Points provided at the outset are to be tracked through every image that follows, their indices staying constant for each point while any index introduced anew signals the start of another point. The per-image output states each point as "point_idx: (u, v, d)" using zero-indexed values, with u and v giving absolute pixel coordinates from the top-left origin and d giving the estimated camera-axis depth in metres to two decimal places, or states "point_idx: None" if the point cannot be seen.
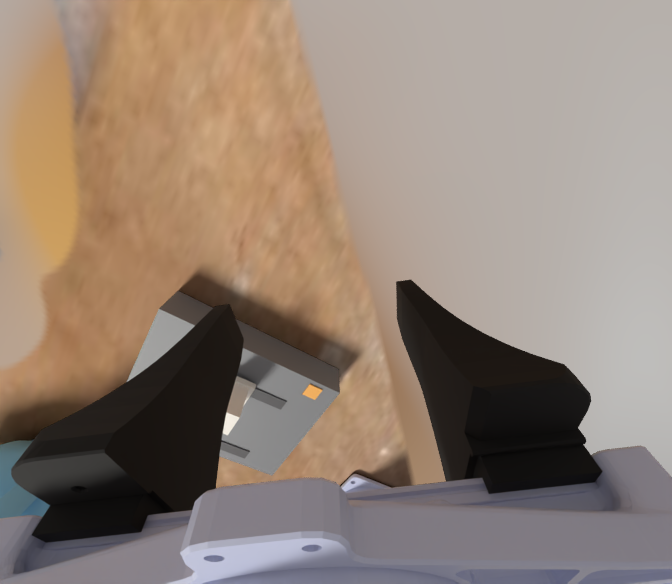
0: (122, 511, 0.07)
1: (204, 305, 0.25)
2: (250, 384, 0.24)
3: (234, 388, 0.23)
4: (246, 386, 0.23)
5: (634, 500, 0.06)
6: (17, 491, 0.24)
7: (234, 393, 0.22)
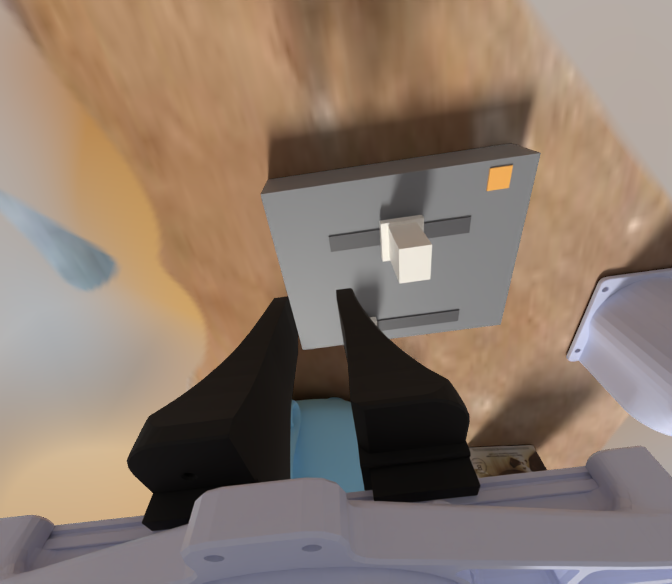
0: None
1: (303, 175, 0.19)
2: (414, 217, 0.17)
3: (400, 229, 0.17)
4: (412, 221, 0.17)
5: (633, 500, 0.06)
6: None
7: (404, 232, 0.16)
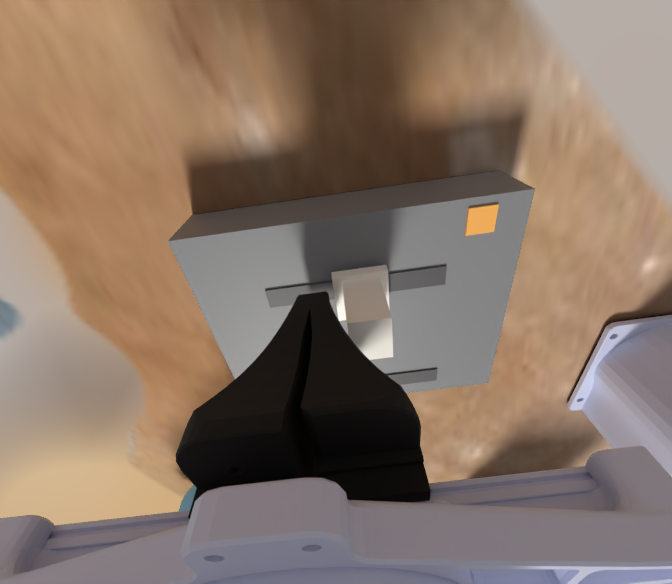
0: None
1: (236, 209, 0.15)
2: (376, 269, 0.13)
3: (355, 286, 0.13)
4: (373, 275, 0.13)
5: (634, 501, 0.06)
6: None
7: (360, 292, 0.12)
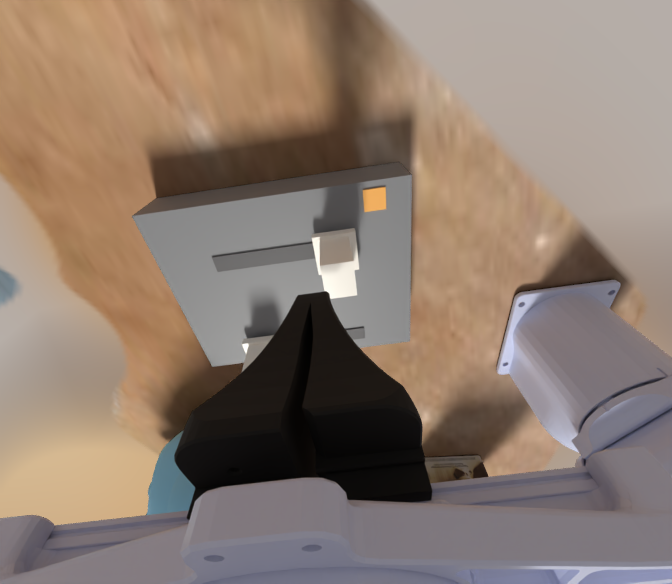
0: None
1: (190, 193, 0.19)
2: (347, 231, 0.17)
3: (329, 243, 0.16)
4: (344, 235, 0.17)
5: (633, 500, 0.06)
6: None
7: (332, 246, 0.16)
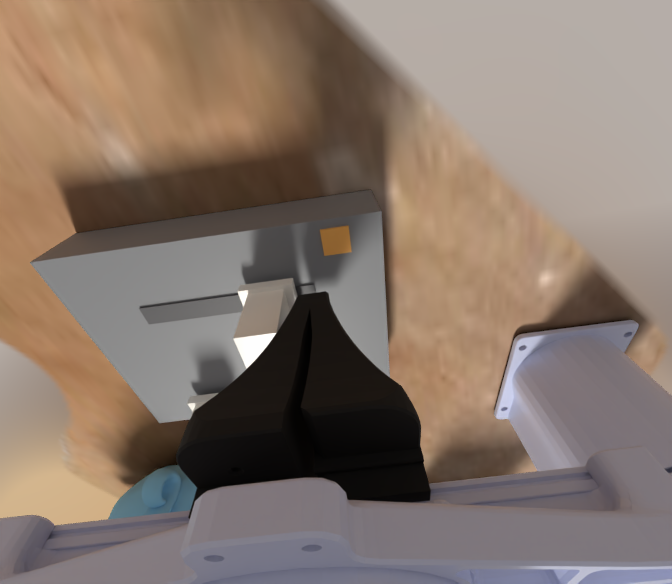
0: None
1: (116, 228, 0.15)
2: (282, 282, 0.13)
3: (258, 299, 0.13)
4: (278, 288, 0.13)
5: (634, 500, 0.06)
6: None
7: (259, 305, 0.13)
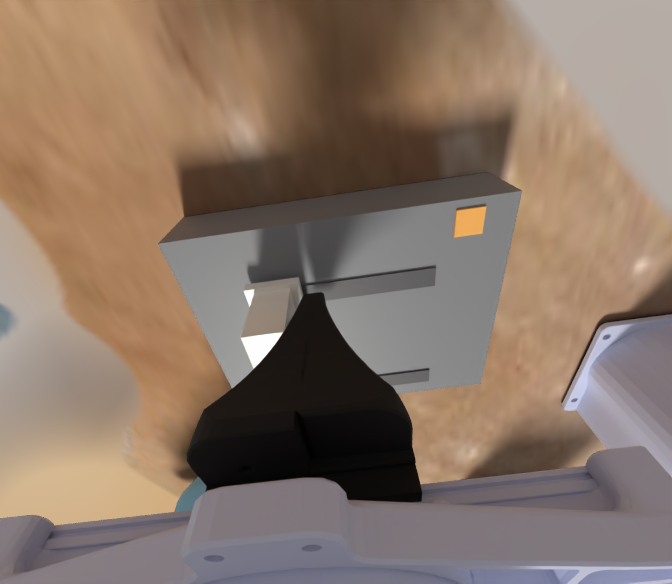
0: None
1: (227, 212, 0.15)
2: (288, 281, 0.13)
3: (264, 299, 0.13)
4: (284, 287, 0.13)
5: (633, 500, 0.06)
6: None
7: (266, 305, 0.13)
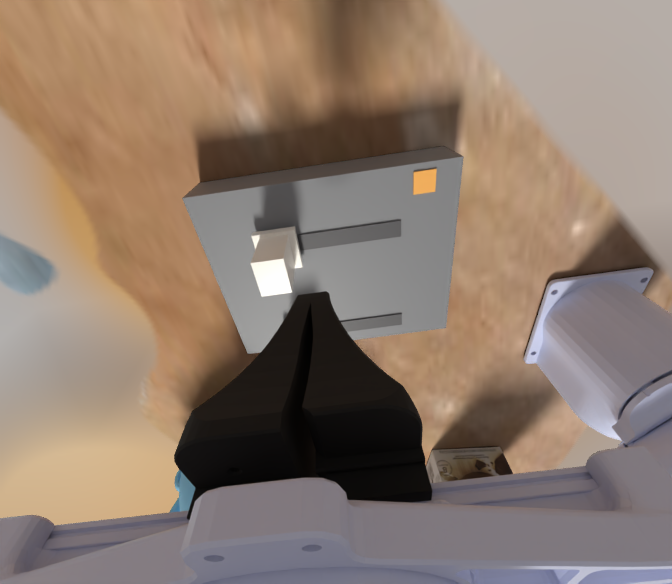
0: None
1: (235, 178, 0.19)
2: (286, 229, 0.17)
3: (267, 241, 0.17)
4: (283, 233, 0.17)
5: (634, 501, 0.06)
6: None
7: (269, 244, 0.16)
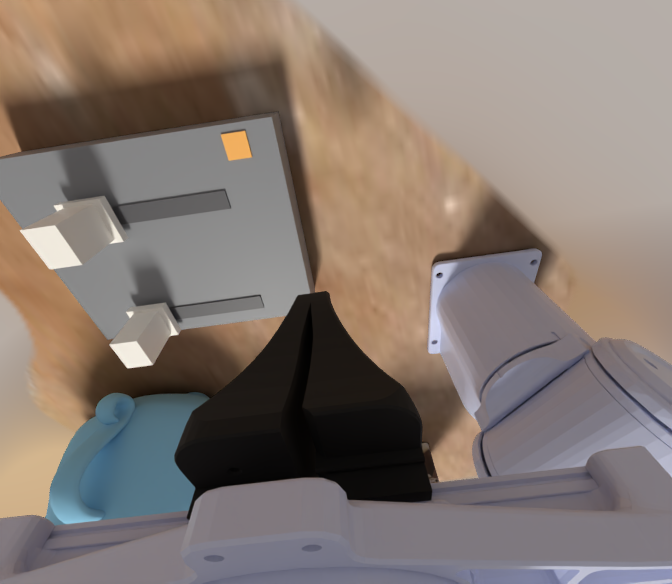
0: None
1: (56, 146, 0.17)
2: (93, 198, 0.16)
3: (66, 210, 0.15)
4: (88, 202, 0.16)
5: (633, 500, 0.06)
6: (86, 441, 0.23)
7: (63, 213, 0.15)
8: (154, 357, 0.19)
